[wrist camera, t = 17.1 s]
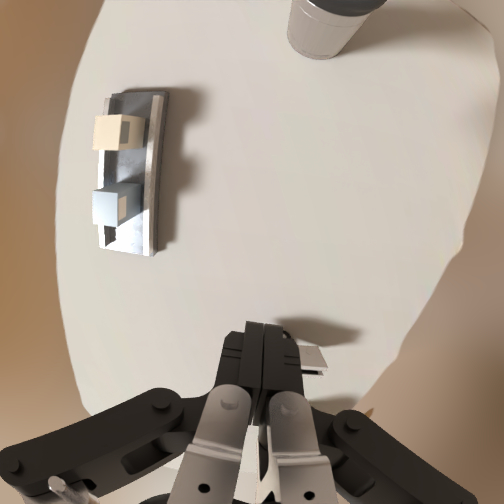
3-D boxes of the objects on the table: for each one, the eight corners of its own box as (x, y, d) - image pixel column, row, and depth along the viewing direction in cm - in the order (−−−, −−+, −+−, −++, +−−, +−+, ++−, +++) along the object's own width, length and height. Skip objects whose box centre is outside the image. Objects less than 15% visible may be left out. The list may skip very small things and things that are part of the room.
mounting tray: (117, 95, 38) (105, 92, 35) (169, 93, 38) (160, 89, 35) (110, 244, 49) (100, 252, 45) (157, 252, 49) (148, 261, 45)
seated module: (121, 118, 38) (95, 115, 31) (145, 117, 38) (121, 114, 31) (118, 147, 40) (92, 150, 33) (142, 148, 40) (118, 150, 33)
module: (118, 182, 42) (92, 190, 35) (141, 184, 42) (117, 193, 35) (117, 210, 44) (92, 223, 37) (140, 213, 44) (117, 227, 37)
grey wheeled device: (313, 332, 55) (242, 325, 51) (329, 365, 46) (249, 362, 43) (306, 346, 56) (237, 341, 53) (320, 380, 48) (243, 378, 44)
